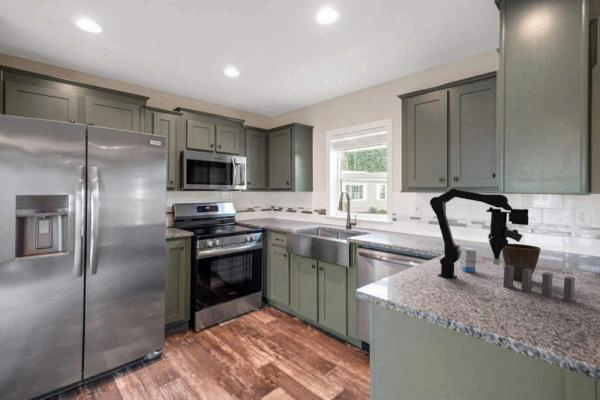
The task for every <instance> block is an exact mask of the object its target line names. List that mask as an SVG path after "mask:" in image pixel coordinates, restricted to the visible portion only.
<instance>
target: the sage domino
mask: <svg viewBox="0 0 600 400" xmlns="http://www.w3.org/2000/svg"><path fill="white" fill-rule="evenodd" d="M500 259H501V255H500V256H499V259H495V257H494V254H493V258H492V263H493V265H495V266H500V261H501V260H500Z"/></svg>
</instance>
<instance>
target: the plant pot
mask: <svg viewBox="0 0 600 400" xmlns="http://www.w3.org/2000/svg"><path fill="white" fill-rule="evenodd" d="M541 249H542V248H541V247H539V246H536V245H529V244H521V243H508V245H507V246H505V247H503V248H502V250H501V253H502V259H503V263H504V266H507V265H511V266H514V279H513V281H518V282H522V271H523V270H524V269H526V268H528V269H532V275H534V272H535V270H536V267H537V264H538V262H539V261H538V260H539V257H540V254H541Z"/></svg>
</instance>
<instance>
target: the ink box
mask: <svg viewBox="0 0 600 400" xmlns="http://www.w3.org/2000/svg"><path fill="white" fill-rule="evenodd" d="M460 251H461V252H462V253H461V257H460V258H459V269H460V270H462V271H463V272H465V273H472V274H473V273H474V274H475V273H476V264H477V263H476V262H477V250H475V249H473V248H472V247H467V246H466V247H465V246H460Z"/></svg>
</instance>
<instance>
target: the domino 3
mask: <svg viewBox="0 0 600 400" xmlns="http://www.w3.org/2000/svg"><path fill="white" fill-rule="evenodd" d="M541 277H542V278H541V297H543V296H544V297H545V298H547V297H548V298H550V297H551V296H552V295H553V272H550V271H549V272H548V271H545V272H544V273H543V272H542V275H541Z"/></svg>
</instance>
